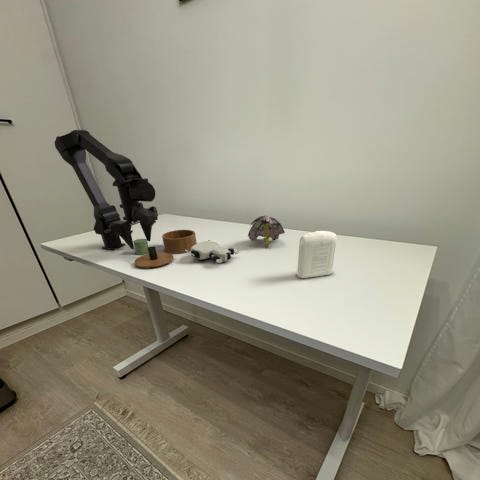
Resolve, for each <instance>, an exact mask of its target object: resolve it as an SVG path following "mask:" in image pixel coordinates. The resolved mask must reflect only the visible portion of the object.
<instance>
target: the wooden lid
mask: <svg viewBox="0 0 480 480" xmlns="http://www.w3.org/2000/svg"><path fill="white" fill-rule="evenodd" d="M147 249H148V253H147V254H142V255H141V256H140V255H139V256H138V257H136V258H135V259H134V266H136V267H138V268H148V269H149V268H156V267H161V266H164V265H167V264H169V263H171V262H172V261H173V260H174V254H173V253H168V252H166V251H164V252H162V251H159V252H158V251H157V249H156V246H155V245H152V246H149V247H148V248H147Z"/></svg>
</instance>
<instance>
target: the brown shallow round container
mask: <svg viewBox="0 0 480 480" xmlns="http://www.w3.org/2000/svg"><path fill="white" fill-rule="evenodd" d="M161 238H162V243H163V248H164V252H166V253H170V254H172V255H176V254H177V255H178V254H185V253H187V252H186V251H185V250H187V251H189V252H190V253H191V251H190V249H191V247H192V246H194V245H195V244H197V243H198V242H197V235H196V232H195V231H194V230H191V229H175V230H170V231H167V232H165V233H163V234H162V235H161Z"/></svg>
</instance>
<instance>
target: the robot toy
mask: <svg viewBox="0 0 480 480" xmlns="http://www.w3.org/2000/svg"><path fill="white" fill-rule="evenodd" d="M185 251H186V253H188V254H189V255H190V256H191V257H192V258H195V259H197V260H199V261H202V260H208V259H212V261H213V262H214V264H221V263H223V262H227V261H228V260H231V258H232V256H234V255H238V254H239V250H237V249H236V250H235V249H234V248H227V247H223V246H220V243H218V242H215V241H211V240H210V239H208V240H204V241H200V242H197V244H195V245H194V246H192V247H191V249H190V252H189V251H187V250H185Z"/></svg>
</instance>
